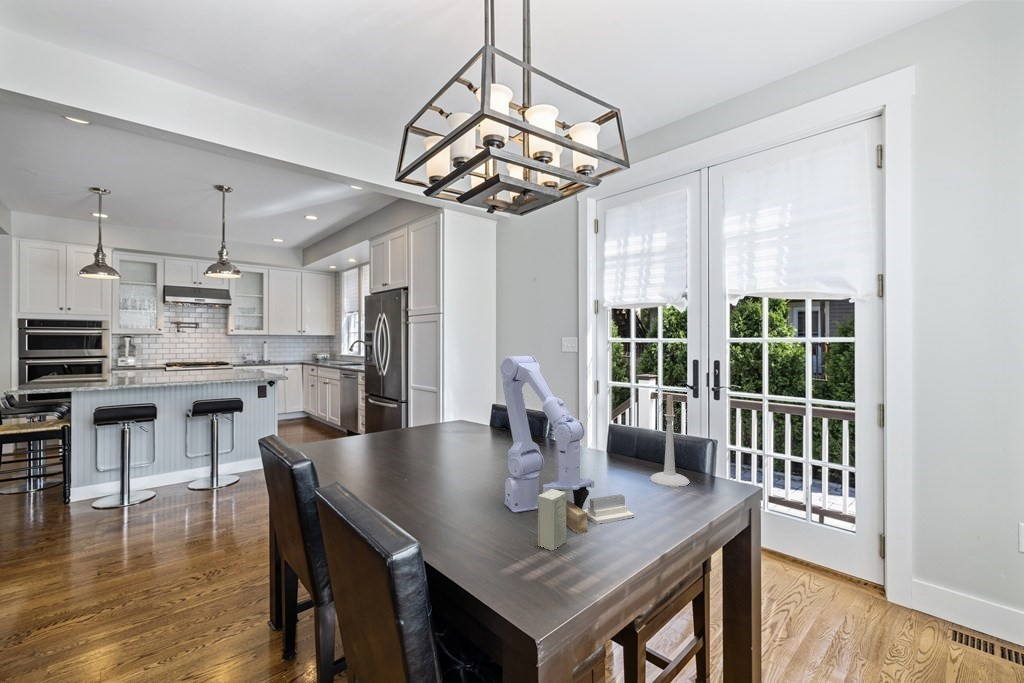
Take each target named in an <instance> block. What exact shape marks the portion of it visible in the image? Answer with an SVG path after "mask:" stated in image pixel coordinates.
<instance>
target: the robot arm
mask: <svg viewBox="0 0 1024 683" xmlns="http://www.w3.org/2000/svg"><path fill="white" fill-rule="evenodd" d="M499 368H500V373H501V379H502V388H503V395H504V400H505V404H506V409H507V416H508V420H509V425H510V431H511V436H512V441H513V444H512V446H511V447H510V449H509V450H508V451H507V455H508V459H507V460H508V462H507V468H508V471H509V472H510V474H511V476H510V477H507V478H506V479H505V483H504V503H503V504H504V505H505V506H506V507H507V508H508V509H509V510H511V512H513V513H520V512H527V511H534V510H535V511H536V510H538V495H540V494H539V491H540V490H539V489H540V488H539V486H540V485H539V484H540V483H539V476H540V475H541V471H542V470H543V468H544V466H545V458H544V456H543V454H542V453H541V450H540V446H539V444H537V443H536V442H535V441H533V439H532V434H531V430H530V424H529V419H528V415H527V410H526V404H525V399H524V398H525V397H524V394H523V387H524V386H525V384H526V383H527V384H529V386H530V388H531V389H532V390H533V391H534V393H535V394H536V395H537V397H538V398H539V399H540V401H541V403H543V404H542V412H543V413H544V414H545V416H546V418H547V419H548V421H549V422H550V424H551V426H552V427H553V429H554V431H553V438H554V439H555V442H556V448H557V450H558V452H557V453H558V457H557V459H558V460H557V462H558V467H557V468H558V475H557V477H558V480H555V481H553V482H549V483H545V484H542V493H544V492H546V491H548V490H550V489H555V490H559V491H562V492H567V491H571V490H572V495H573V504H575V505H576V506H578V507H579V508H581V509H582V510H583V508H584V504H585V502H586V500H587V498H588V496H589V495H590V490H589V489H588V488H592V489H594V488H595V480H594V479H592V478H581V472H580V471H581V470H580V469H581V440H583V438H584V436H585V428H584V425H583V423H582V421H580V420H579V419H576V418H575V417H574V416H572V414H570V412H569V410H568V408H567V407H566V405H565V402H564V401H563V399H561V398H560V397H555V396H554V394H553V393H552V391H551V389H550V388H549V386H548V383H547V382H546V380H545V378H544V377H543V374H542V373H541V371H540V370H541V365H540V364H539V362H538V361H537V359H536V357H535V356H534V355H531V354H529V355H516V356H515V355H507V356H505V357H504V358H503V360H502V362H501V364H500V366H499Z"/></svg>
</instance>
